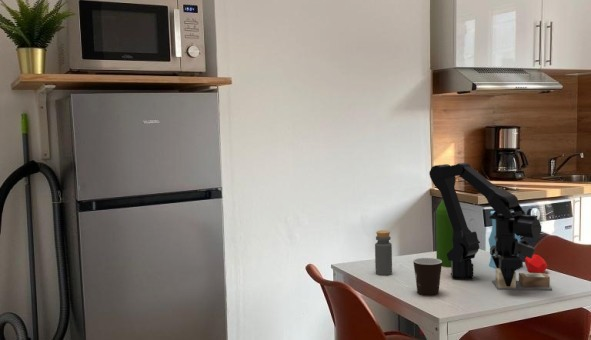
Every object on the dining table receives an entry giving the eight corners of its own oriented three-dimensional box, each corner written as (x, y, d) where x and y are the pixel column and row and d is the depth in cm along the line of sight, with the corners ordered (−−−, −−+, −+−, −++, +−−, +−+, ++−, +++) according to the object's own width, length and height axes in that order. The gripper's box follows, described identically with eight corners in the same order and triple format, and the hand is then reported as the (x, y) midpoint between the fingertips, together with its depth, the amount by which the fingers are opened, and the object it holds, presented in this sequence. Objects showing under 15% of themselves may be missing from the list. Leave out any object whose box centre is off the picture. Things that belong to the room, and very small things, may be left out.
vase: (501, 270, 194) (501, 214, 192) (488, 265, 202) (488, 211, 200) (521, 268, 196) (521, 213, 194) (507, 263, 203) (507, 209, 202)
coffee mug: (437, 298, 165) (436, 265, 165) (409, 294, 170) (409, 262, 169) (448, 288, 175) (448, 257, 174) (422, 285, 180) (421, 254, 179)
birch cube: (499, 287, 173) (499, 272, 172) (495, 283, 178) (495, 268, 177) (515, 288, 172) (515, 272, 171) (512, 283, 177) (512, 268, 176)
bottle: (373, 275, 194) (372, 232, 193) (377, 270, 199) (376, 229, 198) (390, 276, 192) (389, 233, 190) (393, 271, 197) (393, 230, 196)
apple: (553, 258, 187) (536, 246, 194) (537, 264, 185) (520, 251, 192) (551, 274, 190) (534, 262, 197) (534, 280, 189) (518, 267, 195)
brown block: (522, 286, 173) (522, 276, 173) (518, 282, 178) (518, 272, 178) (549, 286, 172) (549, 277, 172) (545, 282, 177) (545, 273, 177)
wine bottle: (464, 266, 201) (463, 177, 199) (439, 267, 201) (438, 178, 199) (457, 261, 210) (456, 175, 207) (434, 261, 210) (433, 176, 208)
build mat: (497, 289, 172) (497, 288, 172) (492, 281, 181) (492, 280, 181) (552, 290, 170) (552, 289, 170) (543, 282, 179) (543, 281, 179)
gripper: (540, 240, 163) (540, 291, 164) (524, 228, 181) (524, 275, 183) (501, 240, 165) (501, 291, 166) (489, 228, 183) (489, 274, 184)
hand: (505, 282), depth 175 cm, fingers open, 7 cm apart
